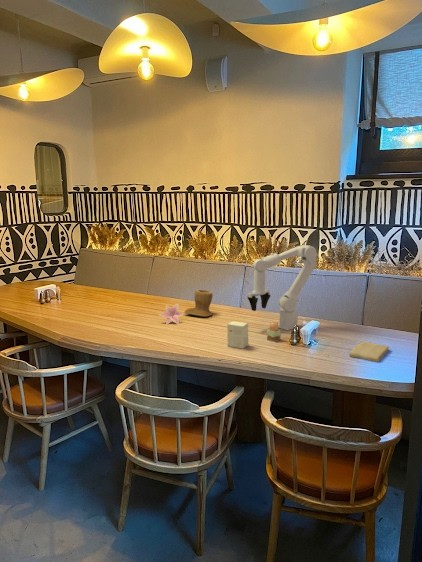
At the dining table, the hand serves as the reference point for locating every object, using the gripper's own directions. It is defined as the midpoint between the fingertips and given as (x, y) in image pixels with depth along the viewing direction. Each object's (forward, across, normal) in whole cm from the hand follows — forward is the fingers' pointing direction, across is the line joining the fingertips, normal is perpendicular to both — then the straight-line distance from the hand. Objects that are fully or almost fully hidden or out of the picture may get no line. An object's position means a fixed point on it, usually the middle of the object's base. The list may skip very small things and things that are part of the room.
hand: (258, 309), depth 210 cm
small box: (+11, +26, +10) cm, 30 cm away
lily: (+12, +24, -41) cm, 49 cm away
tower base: (+11, +8, +16) cm, 21 cm away
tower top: (+8, +7, +16) cm, 20 cm away
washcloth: (+10, -8, +56) cm, 58 cm away
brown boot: (+11, +4, -42) cm, 43 cm away
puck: (+6, +8, +16) cm, 19 cm away
